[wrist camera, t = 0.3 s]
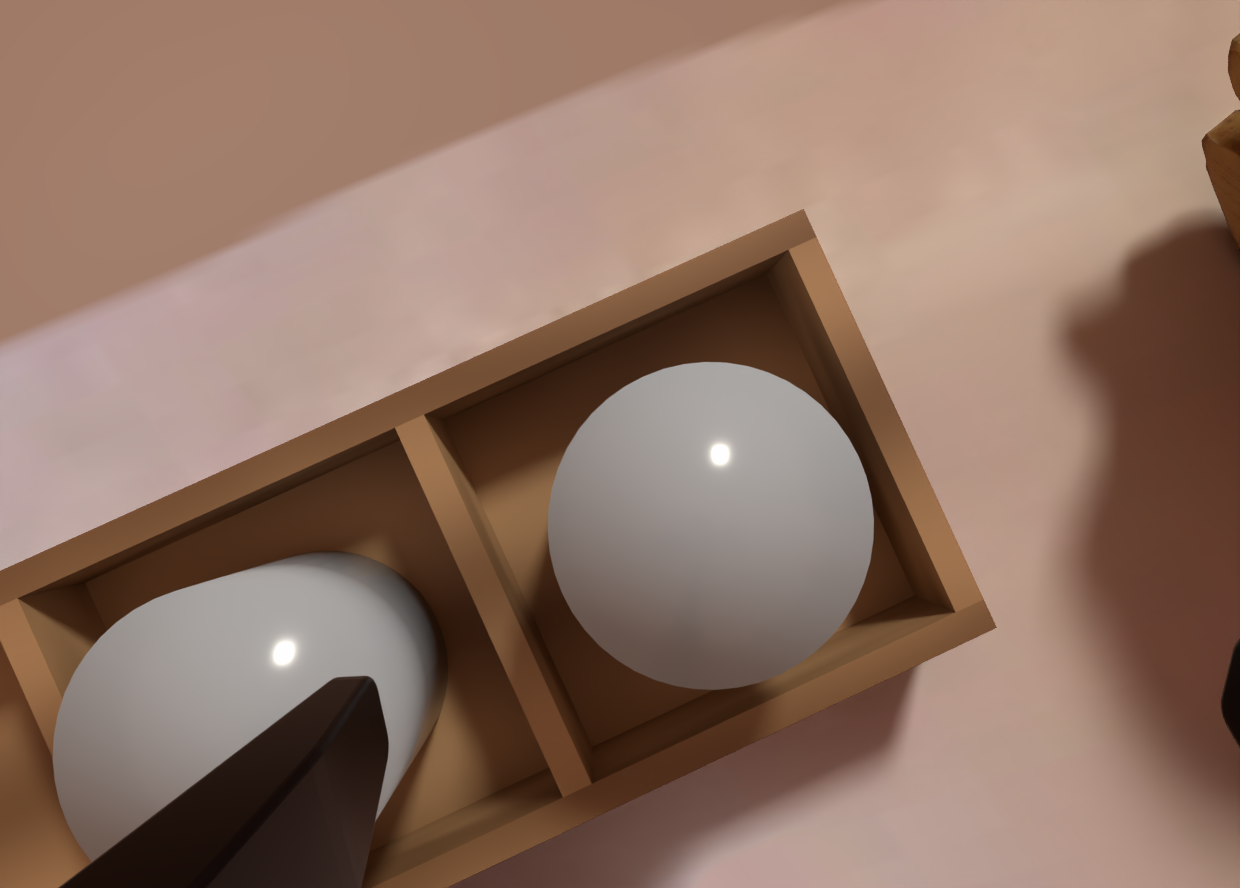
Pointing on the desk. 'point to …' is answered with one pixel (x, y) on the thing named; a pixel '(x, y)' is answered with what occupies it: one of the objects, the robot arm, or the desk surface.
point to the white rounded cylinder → (237, 681)
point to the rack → (506, 569)
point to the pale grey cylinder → (710, 525)
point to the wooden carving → (1227, 152)
